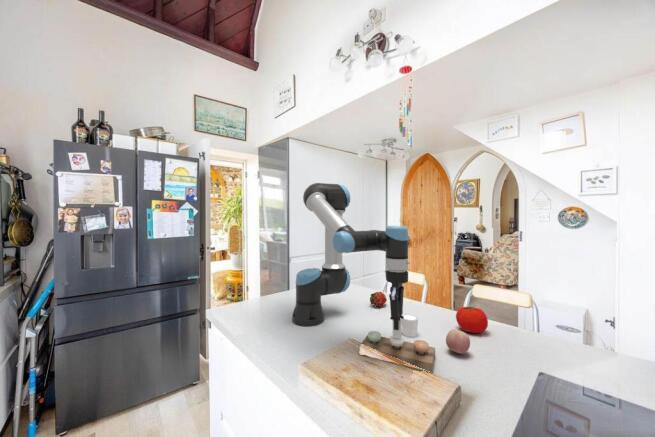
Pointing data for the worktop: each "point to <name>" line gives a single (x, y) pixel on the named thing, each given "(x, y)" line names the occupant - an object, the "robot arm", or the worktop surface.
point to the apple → (458, 341)
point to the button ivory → (396, 342)
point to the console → (405, 353)
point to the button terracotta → (421, 346)
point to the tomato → (472, 319)
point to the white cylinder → (409, 325)
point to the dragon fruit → (378, 299)
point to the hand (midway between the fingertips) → (397, 337)
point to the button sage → (374, 336)
